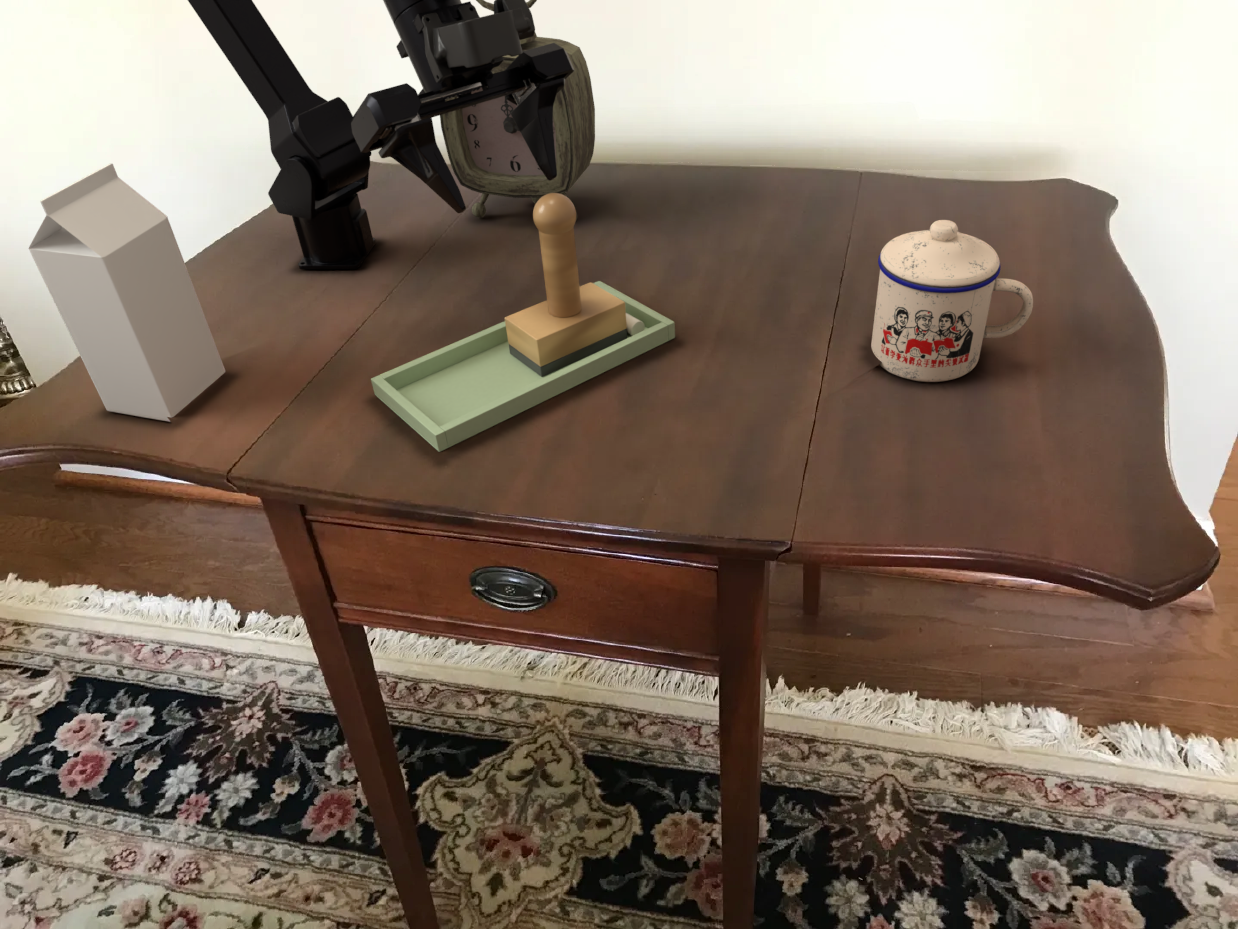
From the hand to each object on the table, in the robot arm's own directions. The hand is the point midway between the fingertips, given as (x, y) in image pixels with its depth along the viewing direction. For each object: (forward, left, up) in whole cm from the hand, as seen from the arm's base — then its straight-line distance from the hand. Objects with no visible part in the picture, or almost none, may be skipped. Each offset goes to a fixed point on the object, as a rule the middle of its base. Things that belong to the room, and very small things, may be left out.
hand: (508, 194), depth 80 cm
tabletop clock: (-4, +25, -13) cm, 28 cm away
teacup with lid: (+36, -5, -13) cm, 38 cm away
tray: (+2, -8, -12) cm, 15 cm away
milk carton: (-29, -12, -13) cm, 34 cm away
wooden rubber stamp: (+5, -5, -12) cm, 14 cm away
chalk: (+8, -2, -11) cm, 14 cm away
